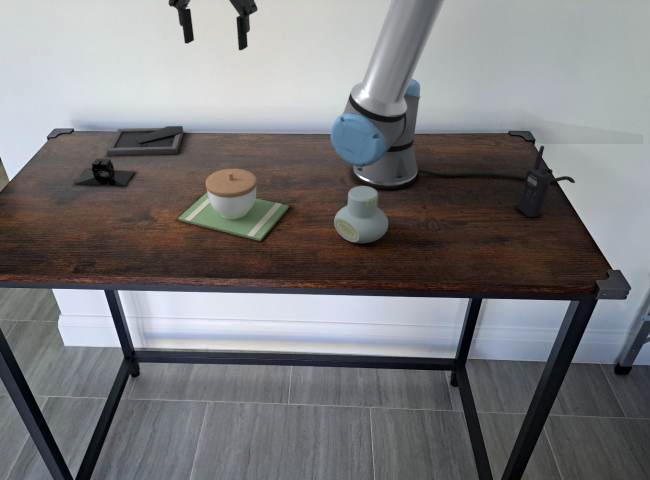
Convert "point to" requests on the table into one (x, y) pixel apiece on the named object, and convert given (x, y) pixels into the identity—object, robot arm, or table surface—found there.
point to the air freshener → (361, 217)
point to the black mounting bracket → (104, 175)
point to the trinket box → (231, 192)
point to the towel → (247, 226)
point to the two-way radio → (535, 188)
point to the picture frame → (146, 141)
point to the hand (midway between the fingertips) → (215, 45)
